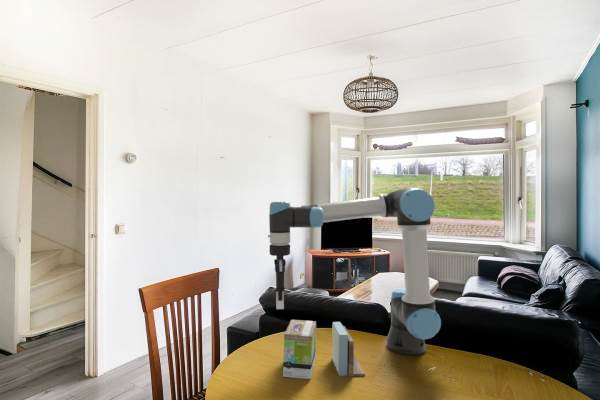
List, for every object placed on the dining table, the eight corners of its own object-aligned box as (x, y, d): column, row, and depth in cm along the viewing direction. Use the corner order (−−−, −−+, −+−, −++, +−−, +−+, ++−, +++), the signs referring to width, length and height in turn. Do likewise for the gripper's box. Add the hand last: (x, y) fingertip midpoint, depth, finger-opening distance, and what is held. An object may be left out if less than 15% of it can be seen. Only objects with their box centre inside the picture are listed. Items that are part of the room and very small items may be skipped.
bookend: (354, 356, 130) (354, 325, 130) (364, 375, 116) (365, 340, 116) (340, 357, 130) (340, 325, 130) (349, 376, 116) (349, 341, 116)
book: (339, 358, 129) (340, 321, 129) (347, 375, 117) (347, 334, 117) (331, 359, 129) (332, 322, 128) (338, 375, 117) (338, 334, 116)
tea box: (311, 380, 114) (312, 335, 113) (282, 377, 115) (282, 334, 115) (316, 359, 128) (316, 320, 128) (289, 357, 130) (290, 318, 130)
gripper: (269, 241, 130) (269, 303, 130) (270, 246, 117) (270, 315, 117) (288, 241, 131) (288, 302, 131) (291, 246, 118) (291, 314, 118)
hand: (280, 308), depth 124 cm, fingers closed
